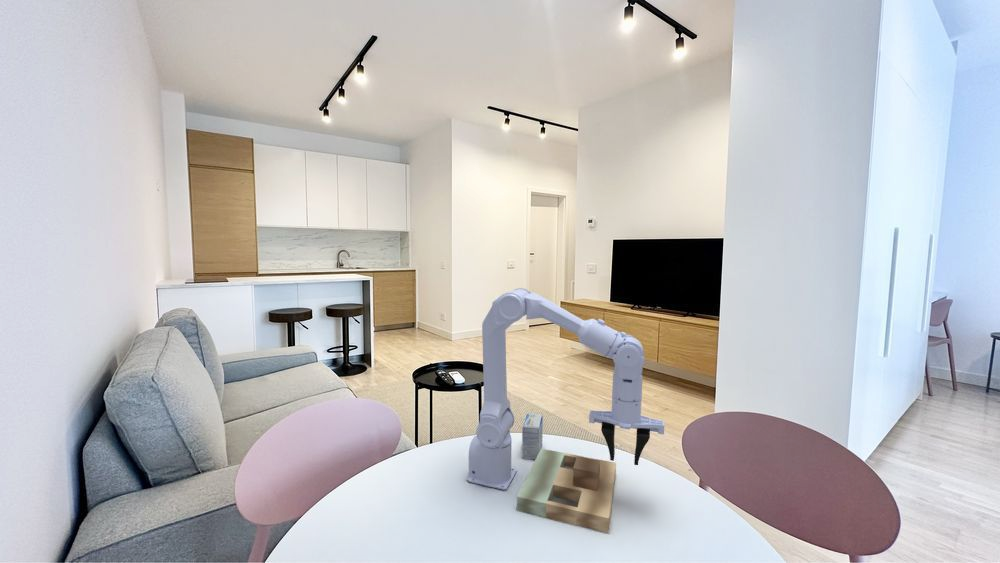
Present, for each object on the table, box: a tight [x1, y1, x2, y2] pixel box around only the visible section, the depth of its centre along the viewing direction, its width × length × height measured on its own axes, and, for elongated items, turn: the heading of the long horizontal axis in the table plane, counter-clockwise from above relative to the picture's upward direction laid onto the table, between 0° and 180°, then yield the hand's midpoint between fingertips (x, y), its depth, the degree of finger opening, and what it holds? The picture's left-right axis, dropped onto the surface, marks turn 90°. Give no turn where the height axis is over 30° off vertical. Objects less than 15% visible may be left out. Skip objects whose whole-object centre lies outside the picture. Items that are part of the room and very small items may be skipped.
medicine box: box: [521, 413, 544, 461], centre depth 101 cm, size 8×4×9 cm, turn 168°
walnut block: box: [573, 455, 601, 491], centre depth 84 cm, size 5×5×4 cm
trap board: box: [516, 448, 617, 534], centre depth 85 cm, size 18×20×3 cm
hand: (624, 460), depth 81 cm, fingers open, 4 cm apart
